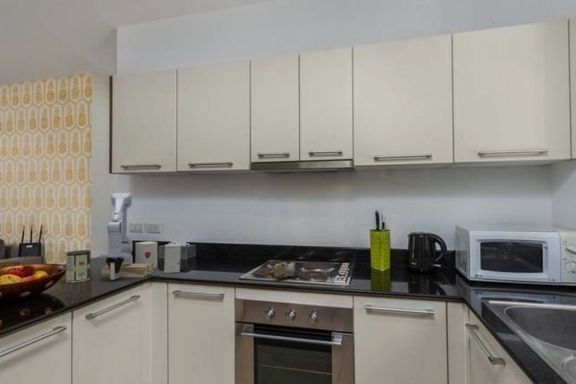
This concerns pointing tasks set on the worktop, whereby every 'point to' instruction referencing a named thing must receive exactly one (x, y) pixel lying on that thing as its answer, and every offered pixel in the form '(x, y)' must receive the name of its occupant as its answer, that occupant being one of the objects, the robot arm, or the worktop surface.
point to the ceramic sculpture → (282, 270)
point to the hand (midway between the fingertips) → (114, 272)
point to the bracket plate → (113, 271)
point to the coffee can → (78, 266)
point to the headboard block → (131, 270)
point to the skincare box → (172, 258)
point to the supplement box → (146, 253)
